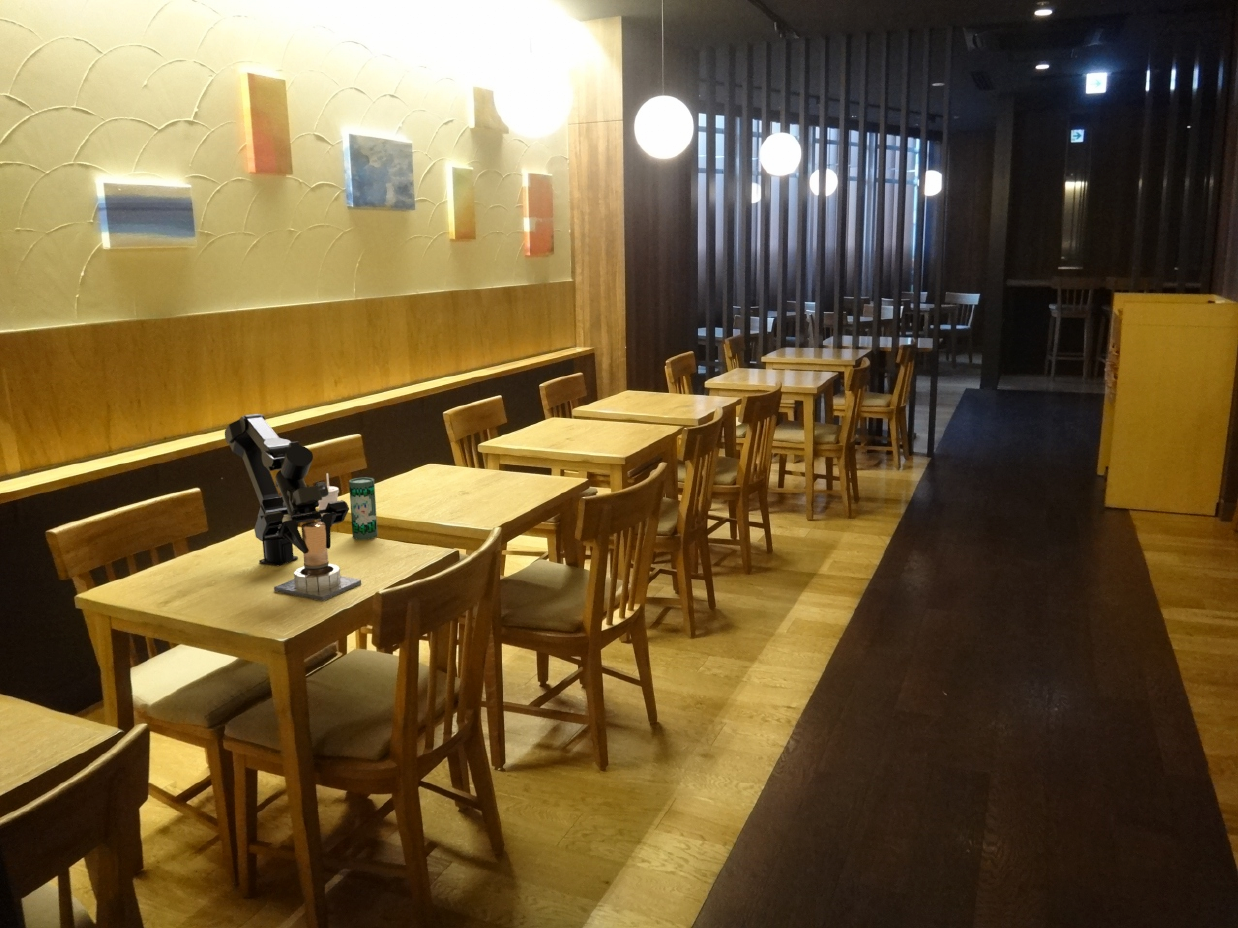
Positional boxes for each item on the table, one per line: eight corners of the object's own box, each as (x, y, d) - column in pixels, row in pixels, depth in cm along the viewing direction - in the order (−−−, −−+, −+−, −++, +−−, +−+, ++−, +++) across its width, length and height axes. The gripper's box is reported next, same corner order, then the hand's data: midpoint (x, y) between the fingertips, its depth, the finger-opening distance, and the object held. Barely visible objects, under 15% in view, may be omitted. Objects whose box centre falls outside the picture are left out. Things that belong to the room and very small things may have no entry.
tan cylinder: (301, 580, 213) (296, 528, 211) (310, 573, 218) (306, 521, 216) (323, 581, 213) (320, 528, 210) (333, 573, 218) (329, 522, 215)
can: (351, 540, 251) (348, 483, 247) (354, 533, 256) (350, 478, 253) (376, 539, 251) (372, 482, 248) (378, 532, 257) (374, 477, 254)
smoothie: (334, 527, 262) (330, 476, 259) (312, 526, 263) (308, 475, 260) (345, 520, 268) (341, 471, 265) (323, 519, 269) (320, 470, 266)
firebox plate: (274, 591, 214) (272, 573, 213) (313, 575, 224) (312, 558, 223) (322, 601, 208) (321, 583, 207) (361, 583, 218) (360, 566, 217)
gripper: (259, 477, 208) (283, 539, 202) (342, 465, 219) (367, 523, 213) (249, 506, 215) (272, 566, 209) (330, 492, 227) (354, 549, 221)
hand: (317, 550), depth 213 cm, fingers closed on tan cylinder, 5 cm apart
